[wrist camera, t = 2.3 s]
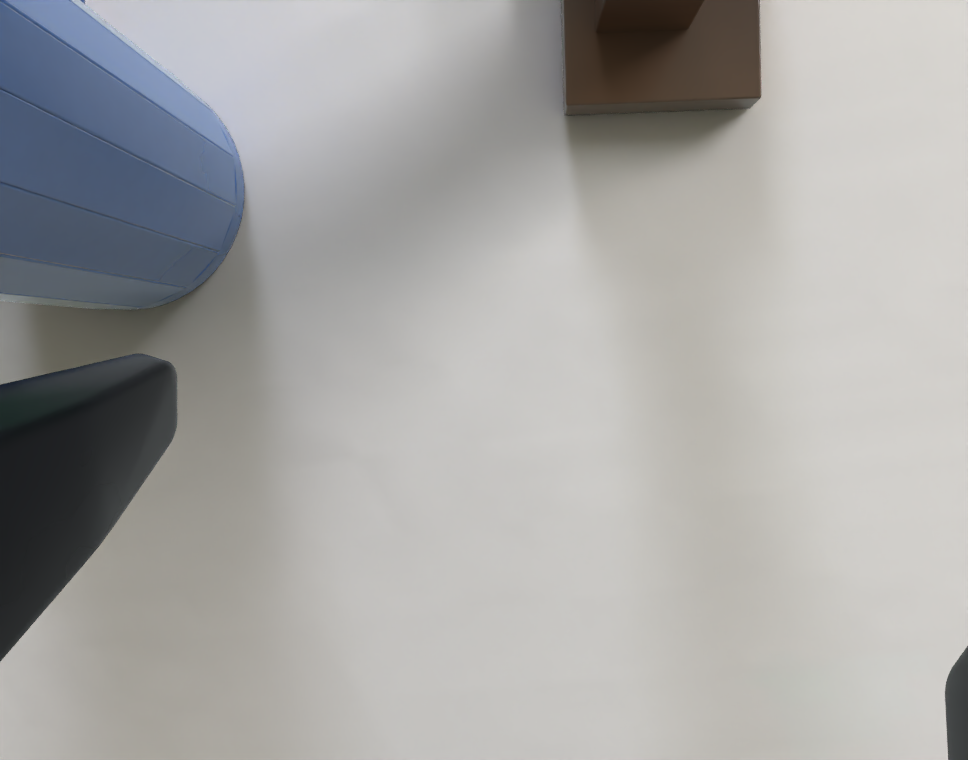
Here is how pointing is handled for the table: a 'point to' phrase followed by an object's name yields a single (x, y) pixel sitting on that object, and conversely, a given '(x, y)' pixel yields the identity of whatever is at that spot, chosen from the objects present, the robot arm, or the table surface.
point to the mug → (105, 167)
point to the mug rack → (660, 55)
